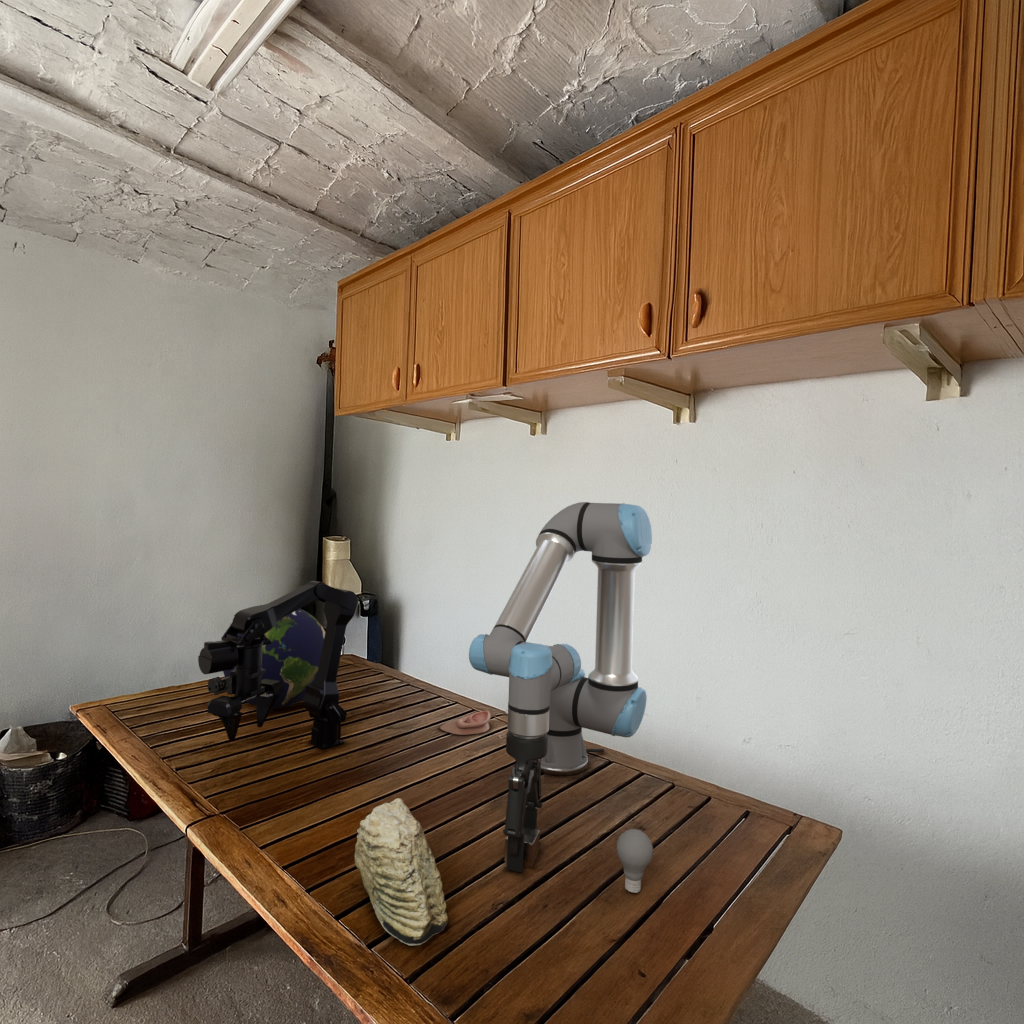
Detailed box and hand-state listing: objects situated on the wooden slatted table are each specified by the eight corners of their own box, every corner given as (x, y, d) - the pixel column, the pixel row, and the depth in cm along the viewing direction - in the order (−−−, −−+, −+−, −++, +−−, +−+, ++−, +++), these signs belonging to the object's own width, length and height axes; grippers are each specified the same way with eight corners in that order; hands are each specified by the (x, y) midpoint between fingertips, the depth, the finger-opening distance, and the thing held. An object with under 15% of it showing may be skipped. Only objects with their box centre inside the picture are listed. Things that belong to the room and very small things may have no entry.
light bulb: (610, 879, 108) (613, 822, 108) (644, 879, 109) (647, 822, 109) (619, 902, 102) (622, 840, 102) (655, 901, 103) (658, 840, 103)
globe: (289, 685, 209) (292, 594, 208) (348, 705, 191) (352, 606, 191) (199, 706, 185) (203, 604, 184) (258, 732, 167) (262, 619, 167)
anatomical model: (436, 717, 173) (449, 704, 184) (436, 732, 173) (448, 718, 184) (483, 723, 170) (493, 709, 181) (483, 738, 170) (493, 723, 181)
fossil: (387, 871, 108) (391, 784, 108) (458, 926, 95) (462, 827, 95) (340, 893, 102) (344, 800, 101) (410, 955, 89) (414, 849, 88)
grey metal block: (512, 847, 118) (513, 824, 118) (538, 852, 116) (540, 829, 116) (504, 861, 113) (505, 838, 113) (531, 867, 111) (532, 843, 111)
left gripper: (247, 652, 156) (244, 715, 156) (188, 671, 138) (185, 742, 138) (285, 658, 152) (283, 722, 153) (230, 678, 135) (227, 750, 135)
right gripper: (523, 710, 125) (518, 823, 126) (488, 749, 105) (482, 884, 105) (560, 716, 123) (555, 831, 124) (532, 757, 103) (526, 894, 103)
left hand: (246, 733), depth 145 cm, fingers open, 9 cm apart
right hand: (521, 855), depth 114 cm, fingers open, 8 cm apart
